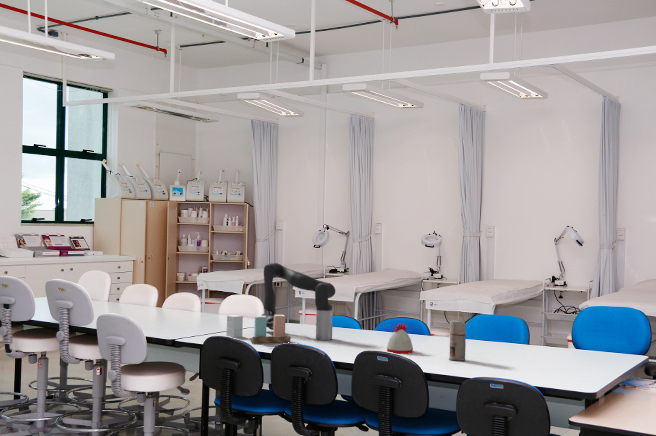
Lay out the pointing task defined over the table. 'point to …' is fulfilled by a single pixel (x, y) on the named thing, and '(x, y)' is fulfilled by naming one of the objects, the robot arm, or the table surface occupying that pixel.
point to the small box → (234, 325)
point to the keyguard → (270, 339)
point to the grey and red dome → (400, 341)
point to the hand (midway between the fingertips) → (276, 326)
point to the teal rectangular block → (260, 326)
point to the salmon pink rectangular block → (279, 325)
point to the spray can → (457, 340)
